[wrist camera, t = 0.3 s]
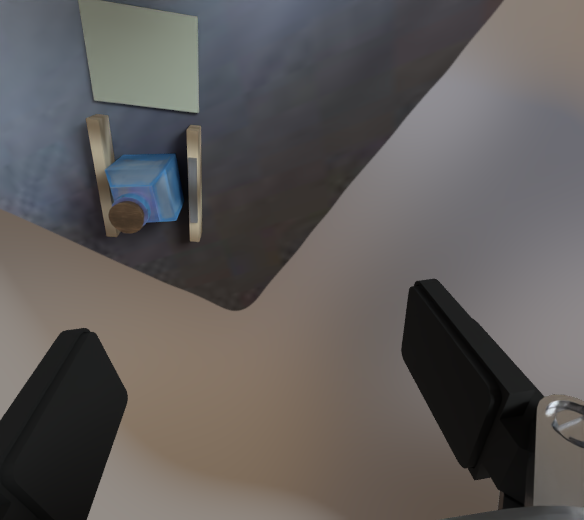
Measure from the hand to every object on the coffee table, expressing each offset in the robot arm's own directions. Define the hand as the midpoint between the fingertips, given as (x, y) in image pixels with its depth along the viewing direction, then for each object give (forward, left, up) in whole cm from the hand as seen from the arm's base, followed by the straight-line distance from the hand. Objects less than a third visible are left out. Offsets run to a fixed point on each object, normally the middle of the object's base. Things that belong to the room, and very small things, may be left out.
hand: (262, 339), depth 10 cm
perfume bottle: (+8, -11, -36) cm, 38 cm away
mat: (-5, -11, -35) cm, 37 cm away
